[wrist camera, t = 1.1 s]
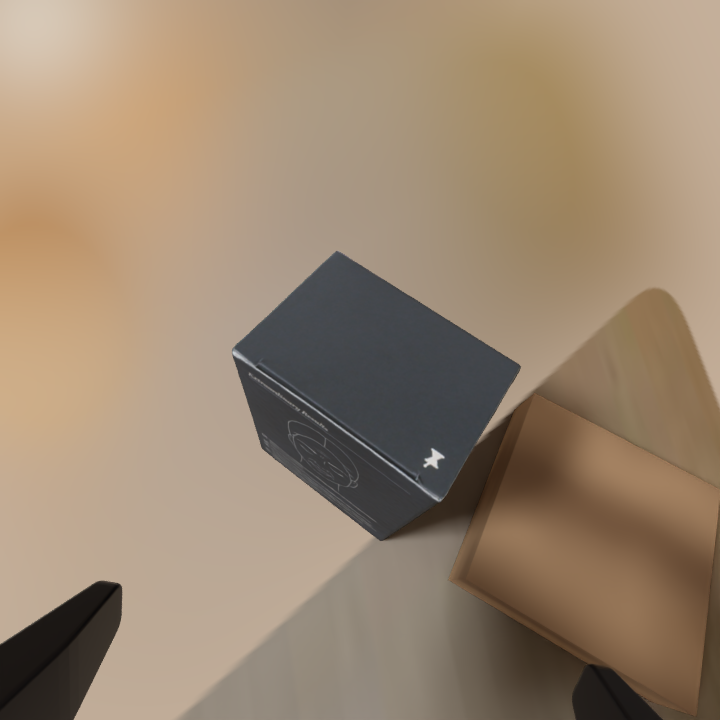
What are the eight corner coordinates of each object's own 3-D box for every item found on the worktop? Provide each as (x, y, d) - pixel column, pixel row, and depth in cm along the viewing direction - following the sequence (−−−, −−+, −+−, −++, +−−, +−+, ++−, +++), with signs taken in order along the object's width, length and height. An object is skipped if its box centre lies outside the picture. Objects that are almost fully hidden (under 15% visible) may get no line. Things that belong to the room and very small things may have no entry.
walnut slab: (651, 701, 19) (696, 716, 17) (448, 579, 20) (465, 579, 18) (681, 498, 24) (720, 489, 21) (514, 410, 25) (534, 393, 23)
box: (439, 452, 23) (529, 364, 14) (380, 544, 21) (442, 511, 12) (324, 370, 25) (336, 242, 16) (257, 447, 22) (224, 348, 13)
